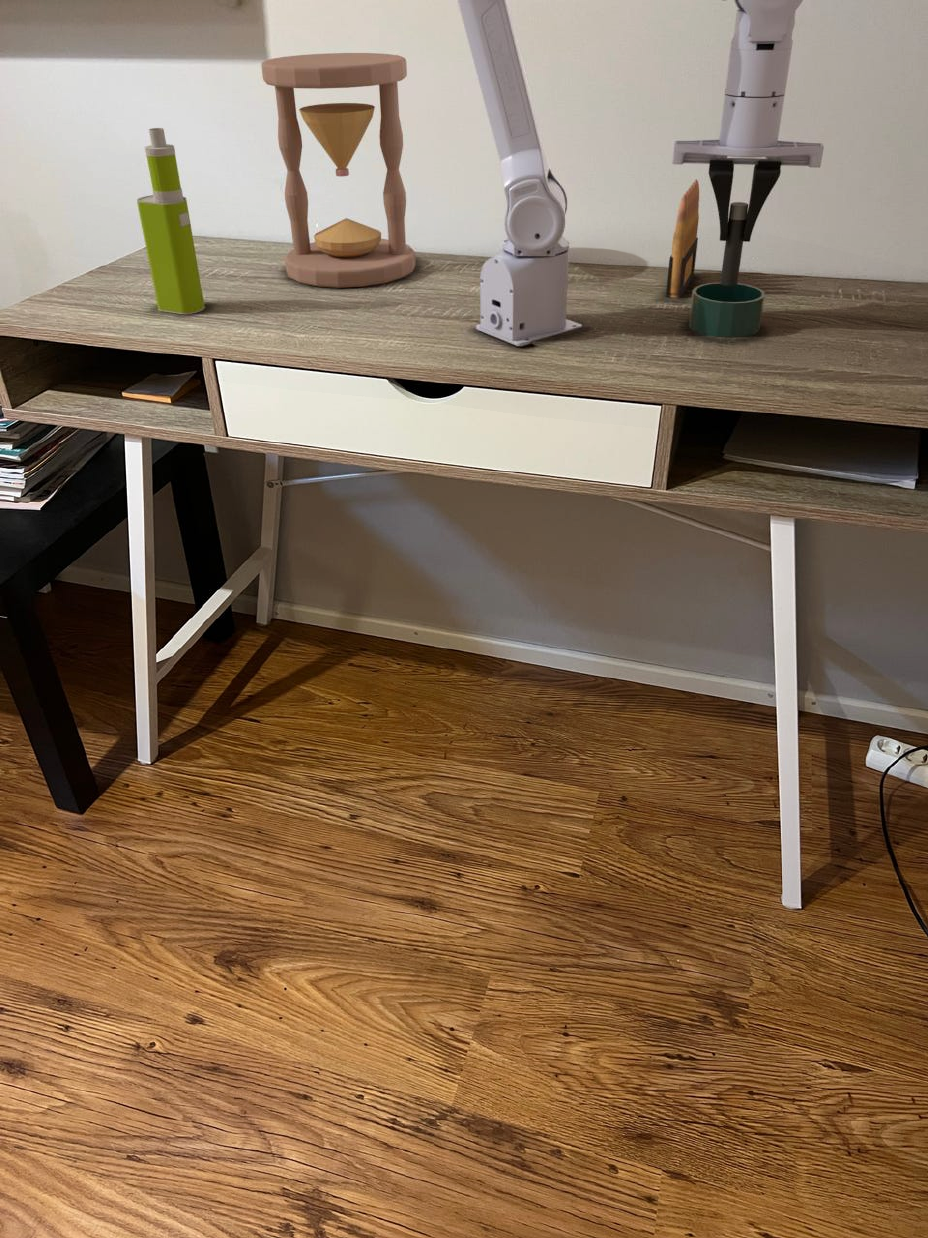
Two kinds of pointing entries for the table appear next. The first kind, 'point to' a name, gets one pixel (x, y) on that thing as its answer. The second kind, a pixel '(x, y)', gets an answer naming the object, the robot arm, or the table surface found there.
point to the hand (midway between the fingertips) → (735, 238)
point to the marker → (734, 243)
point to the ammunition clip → (684, 243)
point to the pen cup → (726, 310)
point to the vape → (169, 233)
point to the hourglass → (342, 167)
